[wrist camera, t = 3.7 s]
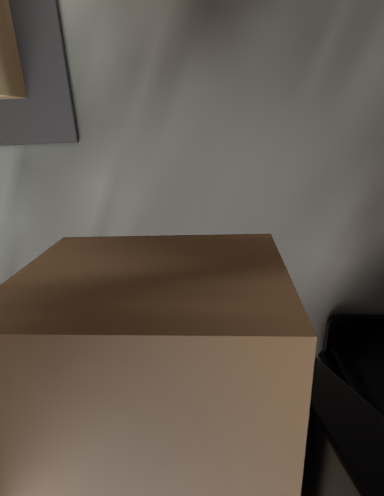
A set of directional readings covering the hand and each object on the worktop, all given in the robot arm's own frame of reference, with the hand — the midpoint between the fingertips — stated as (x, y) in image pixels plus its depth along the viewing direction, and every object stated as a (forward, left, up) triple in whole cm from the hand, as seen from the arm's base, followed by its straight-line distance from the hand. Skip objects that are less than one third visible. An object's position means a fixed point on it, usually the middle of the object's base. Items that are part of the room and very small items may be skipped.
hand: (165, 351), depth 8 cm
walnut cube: (0, 0, -1) cm, 1 cm away
